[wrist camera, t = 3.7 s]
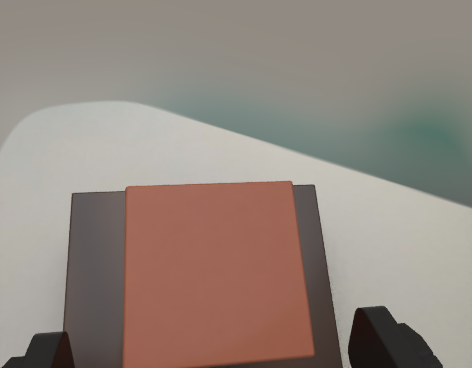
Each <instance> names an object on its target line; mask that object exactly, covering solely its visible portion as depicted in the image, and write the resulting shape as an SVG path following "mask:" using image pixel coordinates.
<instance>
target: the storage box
mask: <svg viewBox="0 0 472 368" xmlns="http://www.w3.org/2000/svg"><path fill="white" fill-rule="evenodd" d="M293 192H294V199H295V207H296V214H297V222H298V229H299V237H300V244H301V252H302V259H303V266H304V274H305V281H306V289H307V296H308V304H309V311H310V319H311V326H312V334H313V341H314V349H315V356H313V357H309V358H299V359H288V360H278V361H268V362H257V363H247V364H237V365H226V366H216V367H206V368H343V366H342V359H341V353H340V346H339V340H338V333H337V327H336V320H335V314H334V307H333V301H332V294H331V288H330V281H329V275H328V268H327V262H326V255H325V249H324V242H323V236H322V229H321V223H320V216H319V210H318V203H317V197H316V190H315V185H293ZM124 242H125V191H116V192H87V193H72V200H71V215H70V231H69V246H68V262H67V277H66V293H65V308H64V323H63V331H66V332H67V333H68V336H69V340H70V345H71V350H72V355H73V359H74V364H75V368H122V360H123V301H124Z"/></svg>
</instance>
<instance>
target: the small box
mask: <svg viewBox="0 0 472 368" xmlns="http://www.w3.org/2000/svg"><path fill="white" fill-rule="evenodd" d="M313 356H315V349H314V341H313V334H312V326H311V319H310V311H309V304H308V296H307V289H306V281H305V274H304V266H303V259H302V252H301V244H300V237H299V229H298V222H297V214H296V207H295V199H294V192H293V184H292V182H291V181H275V182H245V183H215V184H185V185H155V186H128V187H126V189H125V242H124V301H123V360H122V368H206V367H216V366H226V365H237V364H247V363H257V362H268V361H278V360H288V359H299V358H309V357H313Z"/></svg>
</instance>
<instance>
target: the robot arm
mask: <svg viewBox="0 0 472 368" xmlns="http://www.w3.org/2000/svg"><path fill="white" fill-rule="evenodd" d="M348 355H349V361H350V364H351V367H352V368H443V365H442V364H441V363H440V361H439V360H438V358H437V357H436V356H434V355H433V352H432V350H431V349H430V348H429V346H428V345H427V343H426V342H425V341H424V339H423V338H422V337H421V336H420V335H419V334H418V333H416V332H415V331H414V330H413V329H411V328H410V327H409V326H408V325H406V324H405V323H400V324H397V322H396V321H395V319H394V318H393V317H392V315H391V314H390V312H389V311H388V309H387V308H386V307H384V306H375V307H363V308H357V309H356V311H355V315H354V320H353V325H352V330H351V335H350V340H349V345H348ZM2 368H75V364H74V359H73V355H72V350H71V345H70V340H69V336H68V333H67V332H66V331H63V332H51V333H38V334H35V335H34V336H33V338H32V340H31V342H30V345H29V347H28V349H27V352H26V354H25V356H22V357H11V358H10V359H9V360H8V361H7V363H6V364H5V365H4V366H3V367H2Z"/></svg>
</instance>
